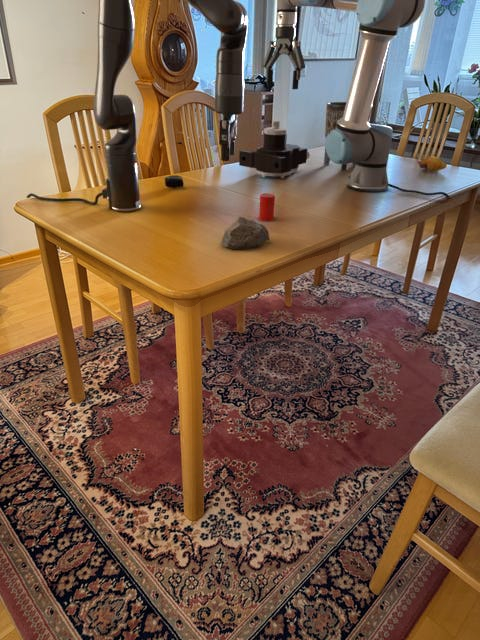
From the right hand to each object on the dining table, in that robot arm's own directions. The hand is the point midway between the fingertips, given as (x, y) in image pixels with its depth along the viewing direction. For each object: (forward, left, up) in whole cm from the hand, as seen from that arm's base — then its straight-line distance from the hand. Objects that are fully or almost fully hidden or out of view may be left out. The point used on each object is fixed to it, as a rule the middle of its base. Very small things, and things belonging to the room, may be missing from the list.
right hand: (282, 88), depth 185 cm
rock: (+8, +93, -33) cm, 99 cm away
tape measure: (+38, +37, -33) cm, 62 cm away
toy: (-70, -13, -33) cm, 79 cm away
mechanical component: (-2, +5, -33) cm, 33 cm away
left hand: (+15, +76, -14) cm, 79 cm away
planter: (-30, -13, -33) cm, 46 cm away
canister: (+3, +70, -33) cm, 77 cm away
